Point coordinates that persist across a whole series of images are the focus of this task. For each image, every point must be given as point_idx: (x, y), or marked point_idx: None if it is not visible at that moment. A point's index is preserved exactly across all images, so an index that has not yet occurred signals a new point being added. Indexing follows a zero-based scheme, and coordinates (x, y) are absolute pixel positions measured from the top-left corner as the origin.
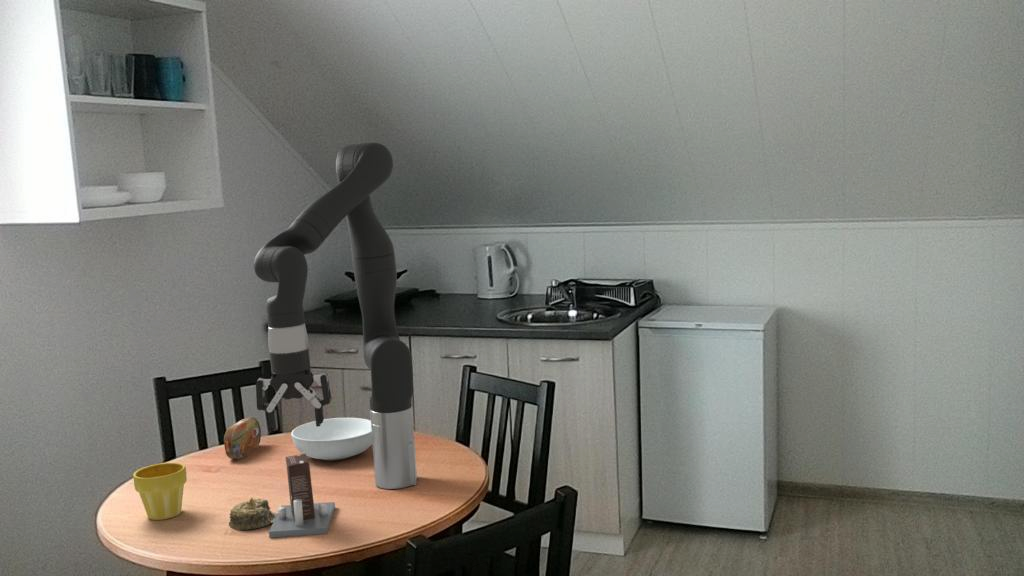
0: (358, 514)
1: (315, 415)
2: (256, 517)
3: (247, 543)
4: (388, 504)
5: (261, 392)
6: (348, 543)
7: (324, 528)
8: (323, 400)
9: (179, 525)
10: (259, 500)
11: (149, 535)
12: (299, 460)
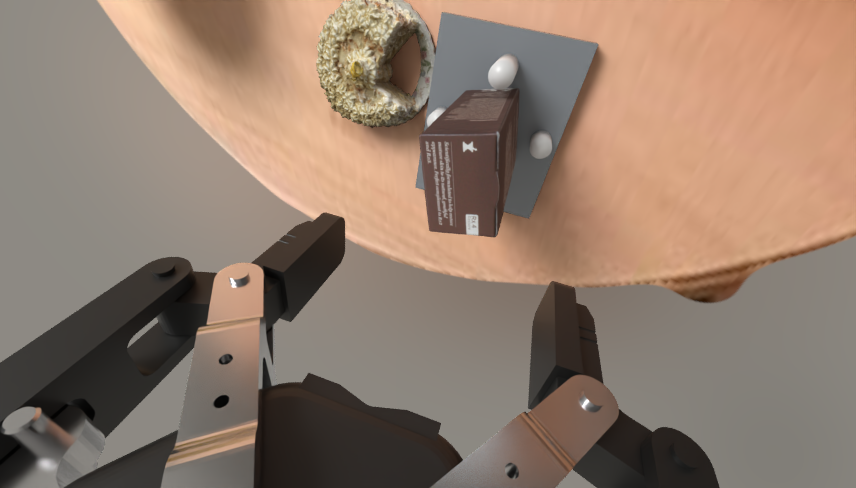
0: (637, 129)
1: (531, 372)
2: (383, 125)
3: (382, 190)
4: (763, 82)
5: (104, 427)
6: (557, 270)
7: (525, 216)
8: (605, 483)
9: (222, 21)
10: (376, 33)
11: (189, 64)
12: (466, 207)
